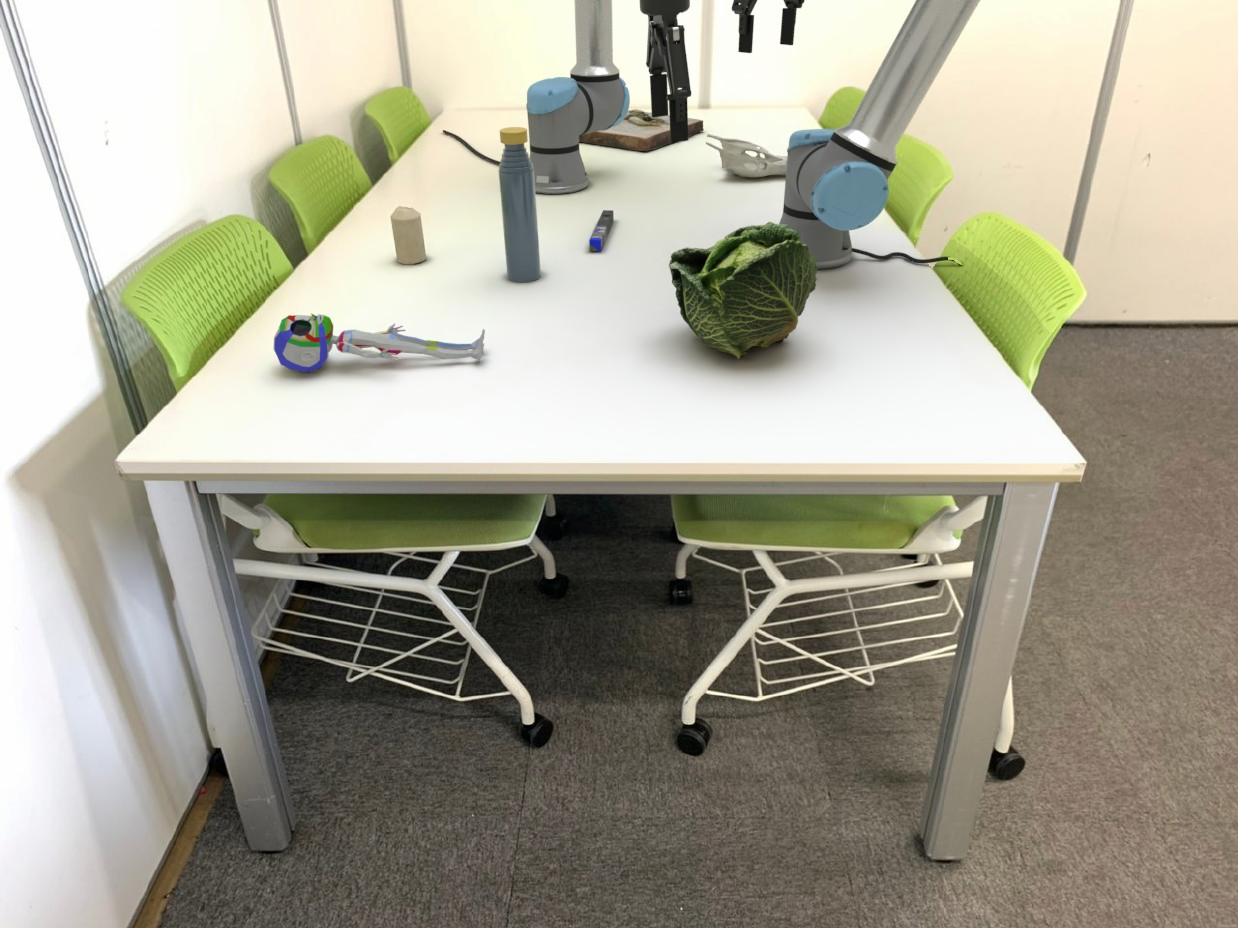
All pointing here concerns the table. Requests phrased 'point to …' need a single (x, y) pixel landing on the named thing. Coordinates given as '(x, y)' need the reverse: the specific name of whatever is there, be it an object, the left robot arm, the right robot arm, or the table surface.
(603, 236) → the pillar
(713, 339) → the vegetable
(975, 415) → the table surface
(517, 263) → the bottle
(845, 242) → the right robot arm
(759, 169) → the anatomical model
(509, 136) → the cap
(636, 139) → the plaque
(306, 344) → the toy
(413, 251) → the candle
